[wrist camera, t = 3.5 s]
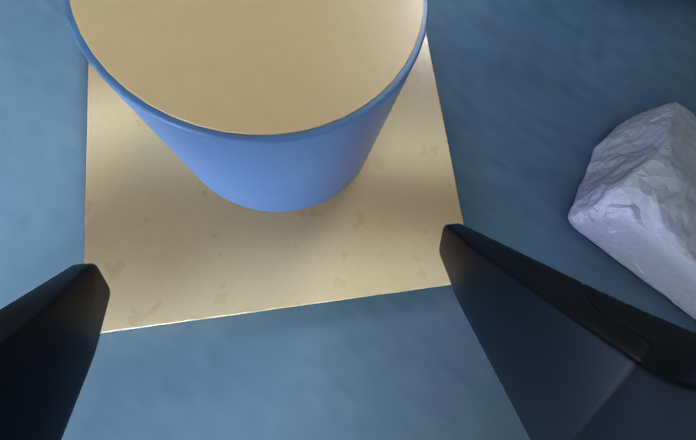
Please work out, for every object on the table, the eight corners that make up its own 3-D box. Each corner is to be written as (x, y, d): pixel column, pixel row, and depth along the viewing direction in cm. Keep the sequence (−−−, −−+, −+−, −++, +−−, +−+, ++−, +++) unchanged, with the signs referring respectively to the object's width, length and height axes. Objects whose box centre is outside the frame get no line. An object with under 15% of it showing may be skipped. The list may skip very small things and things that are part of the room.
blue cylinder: (329, 244, 16) (354, 205, 8) (136, 160, 16) (-33, 34, 8) (400, 81, 18) (472, -71, 11) (233, 4, 18) (180, -214, 10)
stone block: (591, 122, 23) (551, 228, 19) (672, 72, 18) (644, 194, 14) (722, 227, 23) (712, 354, 19) (832, 201, 19) (851, 359, 14)
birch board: (466, 281, 18) (476, 281, 17) (96, 333, 15) (81, 336, 14) (390, -115, 23) (394, -134, 22) (102, -133, 20) (91, -156, 19)
